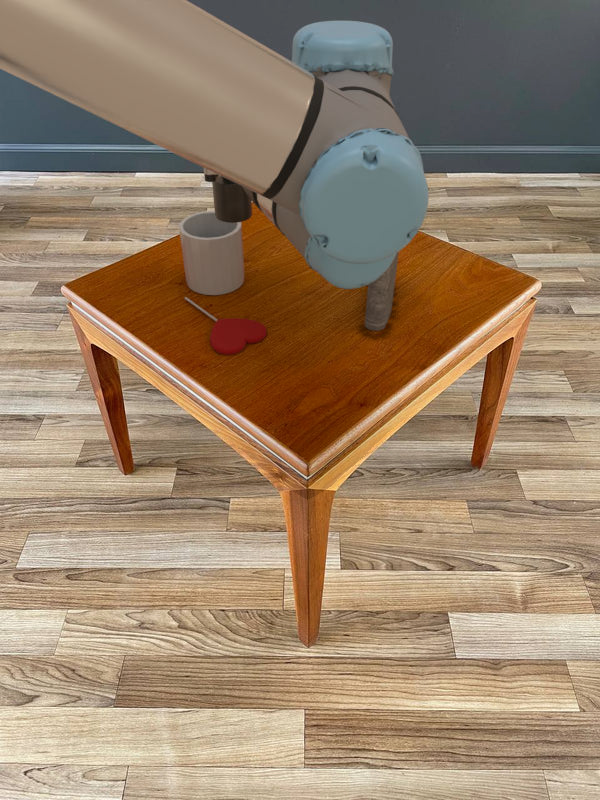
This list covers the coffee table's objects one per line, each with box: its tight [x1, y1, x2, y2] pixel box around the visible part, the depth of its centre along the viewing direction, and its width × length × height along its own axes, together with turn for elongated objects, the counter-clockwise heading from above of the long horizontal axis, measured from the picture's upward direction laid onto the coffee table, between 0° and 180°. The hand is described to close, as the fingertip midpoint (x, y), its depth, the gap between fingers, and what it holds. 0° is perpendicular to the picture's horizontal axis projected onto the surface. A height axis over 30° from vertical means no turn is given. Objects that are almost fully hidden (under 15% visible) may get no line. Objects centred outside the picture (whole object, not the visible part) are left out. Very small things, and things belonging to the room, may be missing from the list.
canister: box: [178, 210, 246, 296], centre depth 94 cm, size 9×9×9 cm
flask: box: [364, 251, 400, 332], centre depth 86 cm, size 4×14×18 cm, turn 170°
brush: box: [211, 176, 253, 223], centre depth 76 cm, size 5×5×20 cm
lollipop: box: [184, 296, 268, 356], centre depth 88 cm, size 8×1×15 cm
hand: (212, 112), depth 79 cm, fingers closed on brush, 2 cm apart
